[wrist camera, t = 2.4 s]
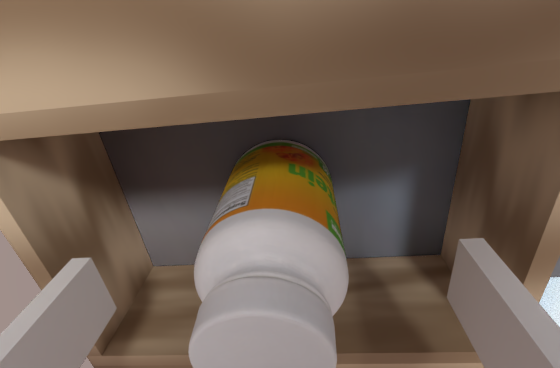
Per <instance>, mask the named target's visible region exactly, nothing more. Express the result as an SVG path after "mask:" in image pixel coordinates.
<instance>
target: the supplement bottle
mask: <svg viewBox="0 0 560 368" xmlns="http://www.w3.org/2000/svg"><path fill="white" fill-rule="evenodd" d="M348 281H349V274H348V266H347V259H346V254H345V249H344V244H343V239H342V234H341V229H340V223H339V218H338V212H337V207H336V201H335V196H334V190H333V184H332V179H331V176H330V173H329V170H328V168H327V166H326V164H325V163H324V161H323V160H322V159H321V157H320V156H319V155H318V154H317V153H315V152H314V151H313V150H311V149H310V148H308V147H307V146H305V145H303V144H300V143H297V142H294V141H289V140H271V141H267V142H263V143H260V144H258V145H256V146H254V147H252V148H251V149H249V150H248V151H247V152H245V153H244V154H243V155H242V156H241V157H240V159H239V160H238V161H237V163H236V165H235V166H234V168H233V170H232V172H231V175H230V177H229V179H228V181H227V184H226V186H225V189H224V191H223V193H222V196H221V198H220V200H219V203H218V205H217V207H216V210H215V212H214V215H213V217H212V219H211V222H210V224H209V226H208V229H207V231H206V233H205V236H204V238H203V240H202V243H201V245H200V248H199V251H198V254H197V257H196V260H195V265H194V282H195V287H196V290H197V293H198V295H199V297H200V299H201V301H202V304H201V306H200V307H199V310H198V314H197V318H196V322H195V325H194V328H193V332H192V335H191V338H190V342H189V350H188V353H189V359H190V362H191V364H192V366H193V368H336V364H337V352H336V340H335V327H334V321H333V315H334V314H335V313H336V312H337V311H338V309H339V308H340V306H341V305H342V303H343V301H344V299H345V296H346V293H347V289H348Z"/></svg>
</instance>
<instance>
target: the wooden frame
mask: <svg viewBox="0 0 560 368" xmlns="http://www.w3.org/2000/svg"><path fill="white" fill-rule="evenodd" d="M468 99H471V100H470V105H469V110H468V115H467V121H466V126H465V131H464V136H463V141H462V147H461V152H460V157H459V162H458V167H457V172H456V178H455V183H454V188H453V193H452V198H451V203H450V209H449V214H448V219H447V224H446V229H445V235H444V240H443V245H442V250H441V255H423V256H398V257H374V258H349V259H347V266H348V274H349V281H348V289H347V293H346V296H345V299H344V301H343V303H342V305H341V306H340V308H339V309H338V311H337V312H336V313H335V314H334V315H333V321H334V327H335V340H336V352H337V364H336V368H484V366H483V364H482V362H481V360H480V359H479V357H478V355H477V353H476V351H475V349H474V347H473V345H472V344H471V342H470V340H469V338H468V336H467V334H466V332H465V331H464V329H463V327H462V325H461V323H460V321H459V319H458V318H457V316H456V314H455V312H454V310H453V308H452V306H451V305H450V303H449V301H448V299H447V294H448V289H449V284H450V279H451V275H452V270H453V265H454V260H455V256H456V251H457V246H458V241H459V239H473V238H484V240H485V241H486V242H487V243H488V244H489V245H490V247H491V248H492V249H493V250H494V251H495V252H496V254H497V255H498V256H499V257H500V258H501V259H502V261H503V262H504V263H505V264H506V265H507V266H508V268H509V269H510V270H511V271H512V272H513V274H514V275H515V276H516V277H517V278H518V279H519V281H520V282H521V283H522V284H523V285H524V286H525V288H526V289H527V290H528V291H529V292H530V293H531V295H532V296H533V297H534V298H535V299H536V300H537V302H538V303H539V302H540V299H541V297H542V295H543V292H544V290H545V288H546V286H547V283H548V281H549V279H550V277H551V274H552V272H553V270H554V267H555V265H556V263H557V261H558V258H559V256H560V0H0V230H1V232H2V233H3V234H4V236H5V237H6V239H7V240H8V242H9V243H10V245H11V246H12V247H13V249H14V251H15V252H16V254H17V255H18V257H19V258H20V259H21V261H22V262H23V264H24V265H25V267H26V268H27V270H28V271H29V273H30V274H31V275H32V277H33V279H34V280H35V281H36V283H37V284H38V286H39V287H40V289H41V290H43V289H44V287H45V286H46V285H47V284H48V283H49V282H50V281H51V280H52V279H53V278H54V277H55V276H56V275H57V274H58V273H59V272H60V271H61V269H62V268H63V267H64V266H65V265H66V264H67V263H68V262H69V261H70V260H71V259H72V258H92V260H93V262H94V264H95V266H96V268H97V270H98V272H99V274H100V276H101V278H102V280H103V282H104V284H105V286H106V288H107V290H108V292H109V294H110V296H111V298H112V300H113V301H114V303H115V305H116V307H117V309H116V311H115V312H114V314H113V316H112V317H111V319H110V320H109V322H108V324H107V325H106V327H105V328H104V330H103V332H102V333H101V335H100V336H99V338H98V340H97V341H96V343H95V344H94V346H93V348H92V349H91V351H90V352H89V354H88V356H87V358H88V359H89V361H90V362H91V364H92V365H93V367H94V368H193V366H192V364H191V362H190V359H189V353H188V350H189V342H190V338H191V335H192V332H193V328H194V325H195V322H196V318H197V314H198V310H199V307H200V306H201V304H202V301H201V299H200V297H199V295H198V293H197V290H196V287H195V282H194V265H178V266H153V264H152V262H151V260H150V257H149V255H148V252H147V250H146V247H145V245H144V242H143V240H142V238H141V235H140V233H139V230H138V228H137V225H136V223H135V221H134V218H133V216H132V213H131V211H130V208H129V206H128V204H127V201H126V199H125V196H124V194H123V191H122V189H121V186H120V184H119V182H118V179H117V177H116V174H115V172H114V169H113V167H112V165H111V162H110V160H109V157H108V155H107V152H106V150H105V147H104V145H103V143H102V140H101V138H100V135H99V133H98V132H105V131H116V130H128V129H139V128H150V127H162V126H173V125H184V124H196V123H207V122H218V121H230V120H241V119H252V118H264V117H275V116H286V115H298V114H309V113H320V112H332V111H343V110H354V109H366V108H377V107H388V106H400V105H411V104H422V103H434V102H445V101H456V100H468Z"/></svg>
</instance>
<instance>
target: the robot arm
mask: <svg viewBox="0 0 560 368" xmlns="http://www.w3.org/2000/svg"><path fill="white" fill-rule="evenodd" d="M447 299H448V301H449V303H450V305H451V306H452V308H453V310H454V312H455V314H456V316H457V318H458V319H459V321H460V323H461V325H462V327H463V329H464V331H465V332H466V334H467V336H468V338H469V340H470V342H471V344H472V345H473V347H474V349H475V351H476V353H477V355H478V357H479V359H480V360H481V362H482V364H483V366H484V368H560V327H559V326H558V325H557V324H556V323H555V322H554V320H553V319H552V318H551V317H550V316H549V315H548V313H547V312H546V311H545V310H544V309H543V308H542V306H541V305H540V304H539V303H538V302H537V300H536V299H535V298H534V297H533V296H532V295H531V293H530V292H529V291H528V290H527V289H526V288H525V286H524V285H523V284H522V283H521V282H520V281H519V279H518V278H517V277H516V276H515V275H514V274H513V272H512V271H511V270H510V269H509V268H508V266H507V265H506V264H505V263H504V262H503V261H502V259H501V258H500V257H499V256H498V255H497V254H496V252H495V251H494V250H493V249H492V248H491V247H490V245H489V244H488V243H487V242H486V241H485V240H484V238H473V239H459V241H458V246H457V251H456V256H455V260H454V265H453V270H452V275H451V279H450V284H449V289H448V294H447ZM116 309H117V307H116V305H115V303H114V301H113V300H112V298H111V296H110V294H109V292H108V290H107V288H106V286H105V284H104V282H103V280H102V278H101V276H100V274H99V272H98V270H97V268H96V266H95V264H94V262H93V260H92V258H72V259H71V260H70V261H69V262H68V263H67V264H66V265H65V266H64V267H63V268H62V269H61V271H60V272H59V273H58V274H57V275H56V276H55V277H54V278H53V279H52V280H51V281H50V282H49V283H48V284H47V285H46V286H45V287H44V289H43V290H42V291H41V292H40V293H39V294H38V295H37V296H36V297H35V298H34V299H33V300H32V301H31V302H30V303H29V304H28V305H27V307H26V308H25V309H24V310H23V311H22V312H21V313H20V314H19V315H18V316H17V317H16V318H15V319H14V320H13V321H12V322H11V324H10V325H9V326H8V327H7V328H6V329H5V330H4V331H3V332H2V333H1V334H0V368H80V367H81V365H82V364H83V362H84V360H85V359H86V357H87V356H88V354H89V352H90V351H91V349H92V348H93V346H94V344H95V343H96V341H97V340H98V338H99V336H100V335H101V333H102V332H103V330H104V328H105V327H106V325H107V324H108V322H109V320H110V319H111V317H112V316H113V314H114V312H115V311H116Z"/></svg>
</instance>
